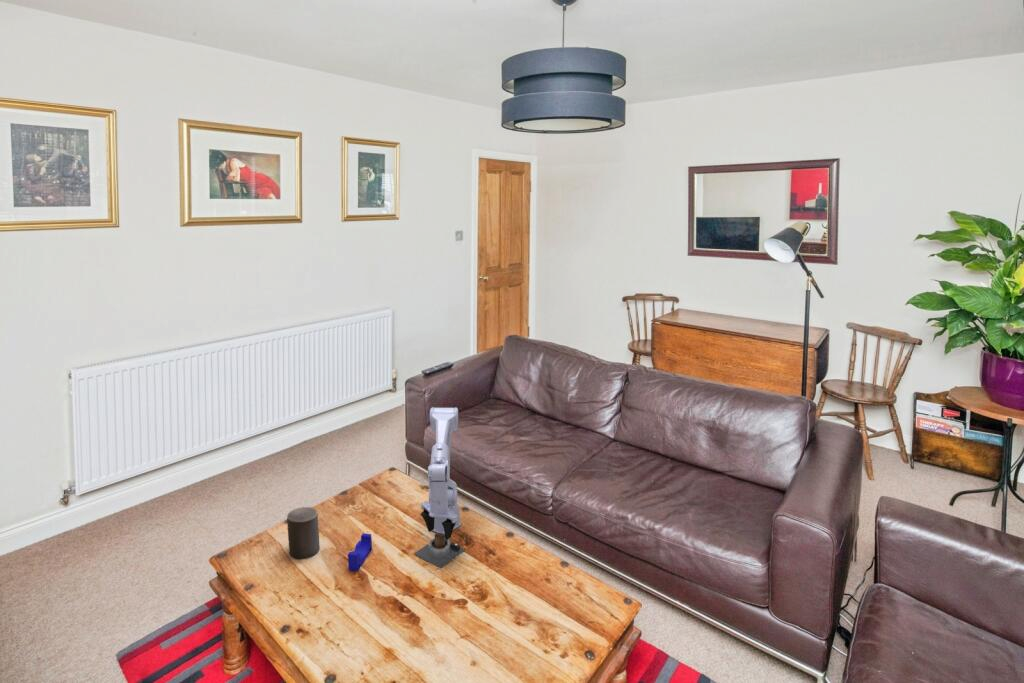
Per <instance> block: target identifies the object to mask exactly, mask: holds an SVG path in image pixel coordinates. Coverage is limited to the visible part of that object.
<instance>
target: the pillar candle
mask: <svg viewBox="0 0 1024 683" xmlns="http://www.w3.org/2000/svg"><path fill="white" fill-rule="evenodd" d="M286 521H287V524H286V525H287V536H288V537H287V538H288V550H289V555H290V557H292V558H294V559H297V560H303V559H308V558H311V557H312V558H313V556H315V555H316V554H318V553H319V551H320V550H321V549H320V548H321V547H320V533H319V532H320V531H319V528H320V527H319V512H318V510H317V509H316V508H315V507H311V506H310V507H308V506H300V507H297V508H294V509H292V510H290V511H289V512H288V513H287V516H286Z"/></svg>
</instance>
